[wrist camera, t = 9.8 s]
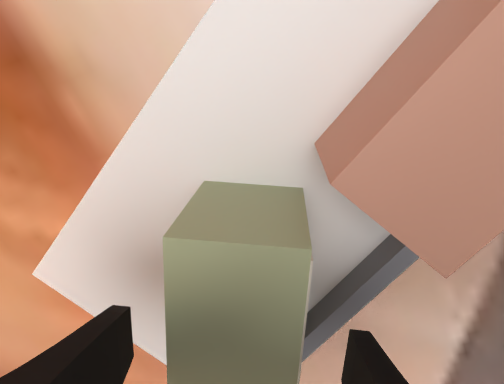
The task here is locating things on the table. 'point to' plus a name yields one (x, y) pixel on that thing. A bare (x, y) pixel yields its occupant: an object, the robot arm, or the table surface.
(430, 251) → the tea box rust
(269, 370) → the tea box olive
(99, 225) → the shelf board
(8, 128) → the table surface
